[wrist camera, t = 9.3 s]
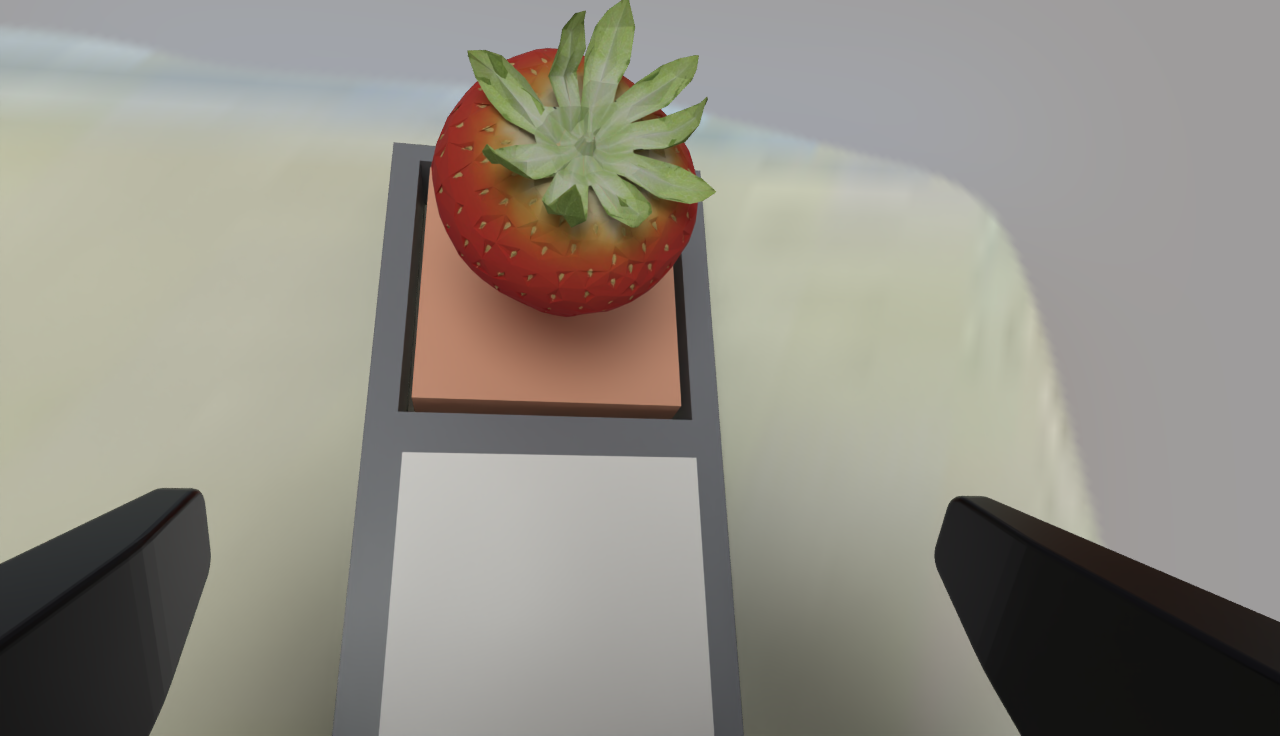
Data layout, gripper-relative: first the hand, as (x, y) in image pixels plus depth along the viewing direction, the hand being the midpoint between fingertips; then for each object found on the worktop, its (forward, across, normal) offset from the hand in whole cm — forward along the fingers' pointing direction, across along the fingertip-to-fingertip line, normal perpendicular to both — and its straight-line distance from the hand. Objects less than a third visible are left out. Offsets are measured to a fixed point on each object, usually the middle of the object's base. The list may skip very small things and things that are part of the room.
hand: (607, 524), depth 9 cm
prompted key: (+13, 0, +2) cm, 13 cm away
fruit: (+11, 0, +1) cm, 11 cm away
